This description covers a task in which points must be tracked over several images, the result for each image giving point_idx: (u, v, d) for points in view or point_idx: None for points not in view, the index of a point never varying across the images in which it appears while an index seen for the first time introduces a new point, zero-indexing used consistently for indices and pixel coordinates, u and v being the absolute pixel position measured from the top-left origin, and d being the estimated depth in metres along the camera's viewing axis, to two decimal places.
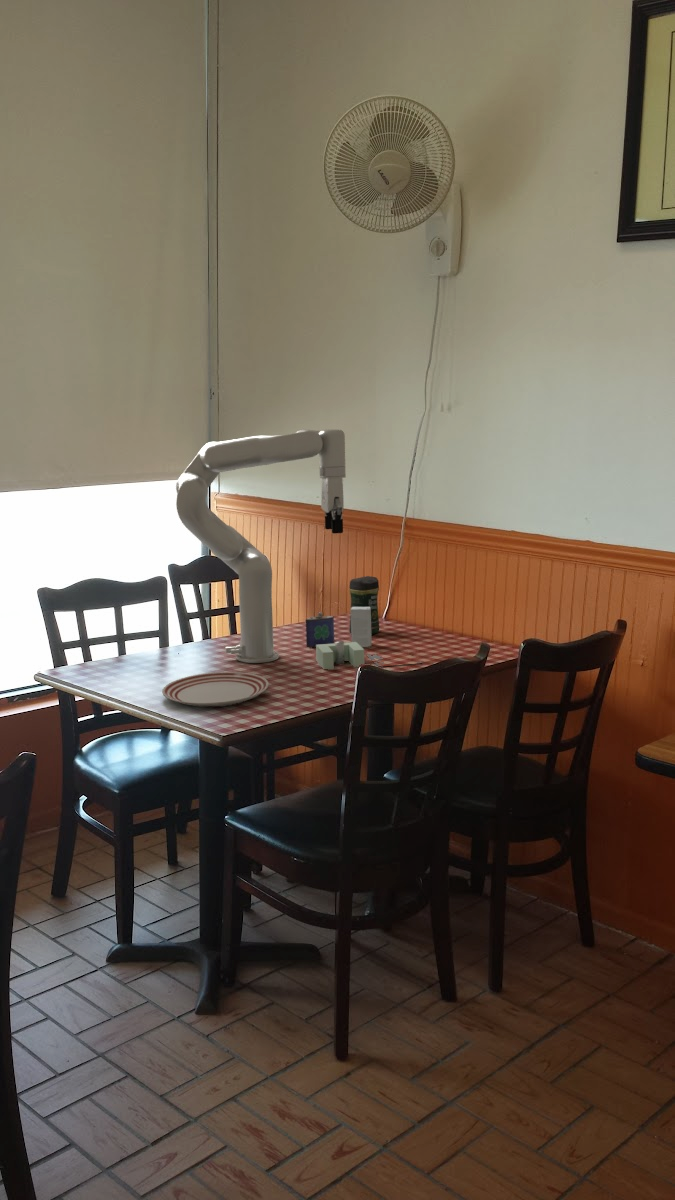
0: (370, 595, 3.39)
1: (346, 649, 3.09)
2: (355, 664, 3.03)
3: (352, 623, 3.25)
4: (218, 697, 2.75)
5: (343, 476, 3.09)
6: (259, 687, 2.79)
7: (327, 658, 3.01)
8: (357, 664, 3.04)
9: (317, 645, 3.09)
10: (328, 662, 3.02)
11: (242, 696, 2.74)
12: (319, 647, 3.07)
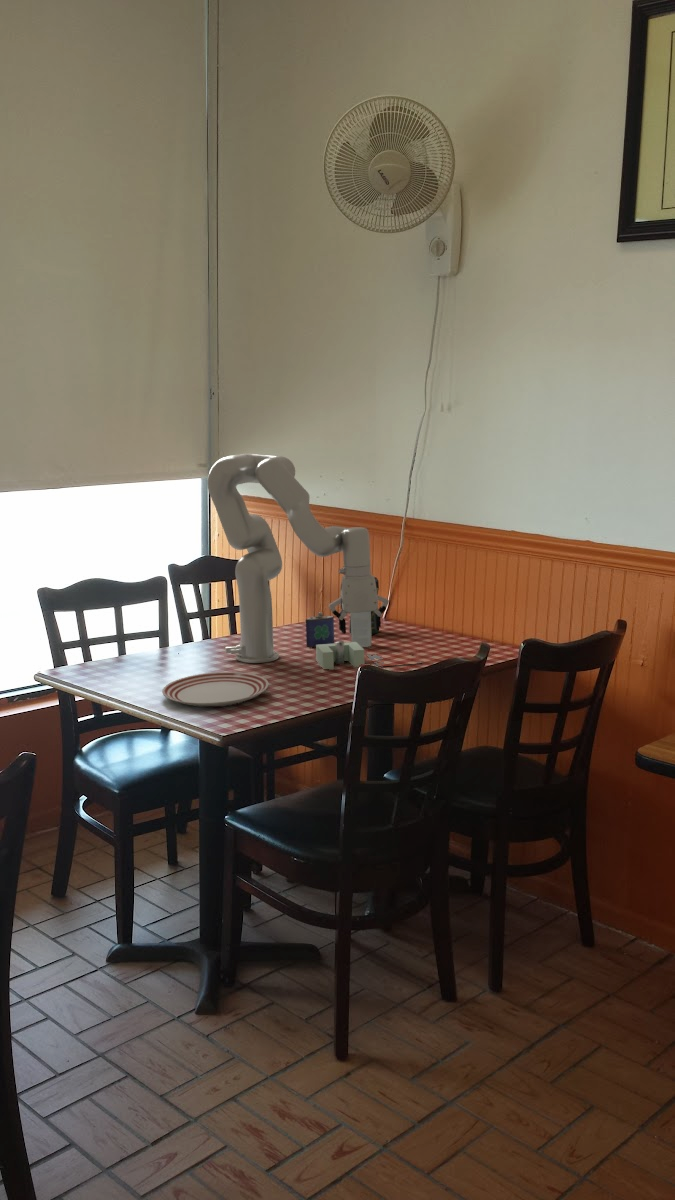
0: None
1: (346, 649, 3.09)
2: (355, 664, 3.03)
3: (352, 623, 3.25)
4: (218, 697, 2.75)
5: None
6: (259, 687, 2.79)
7: (327, 658, 3.01)
8: (357, 664, 3.04)
9: (317, 645, 3.09)
10: (328, 662, 3.02)
11: (242, 696, 2.74)
12: (319, 647, 3.07)
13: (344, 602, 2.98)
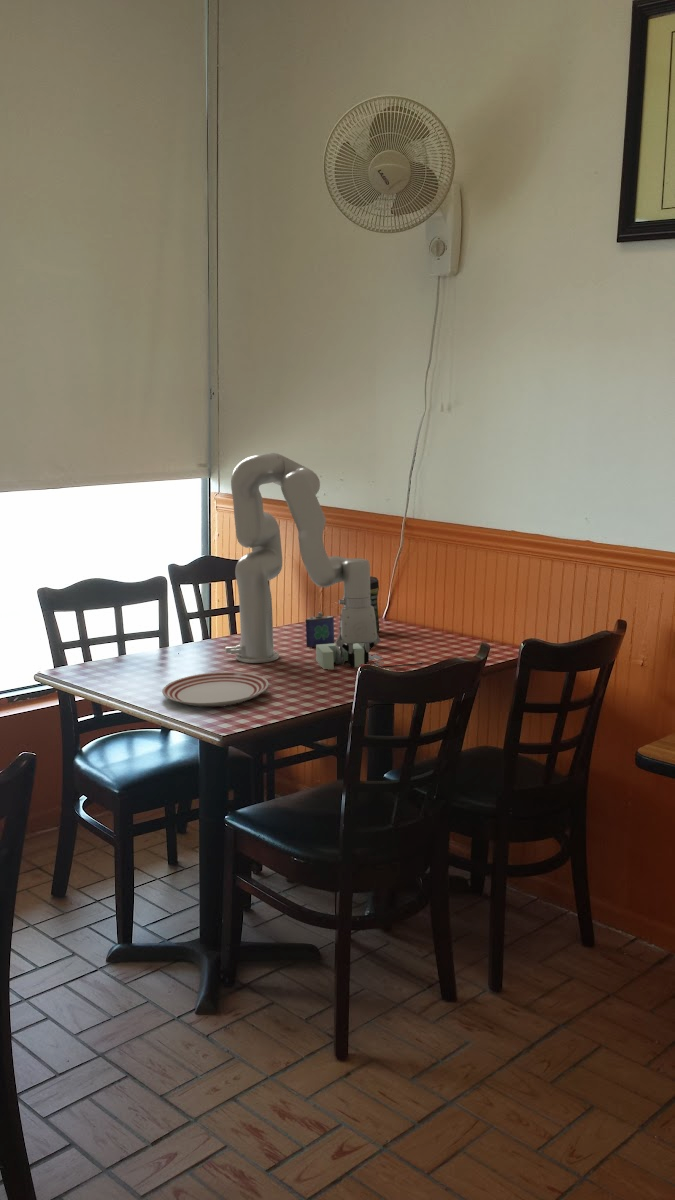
0: (370, 595, 3.39)
1: None
2: (355, 664, 3.03)
3: None
4: (218, 697, 2.75)
5: None
6: (259, 687, 2.79)
7: (327, 658, 3.01)
8: (357, 664, 3.04)
9: (317, 645, 3.09)
10: (328, 662, 3.02)
11: (242, 696, 2.74)
12: (319, 647, 3.07)
13: (343, 633, 3.00)
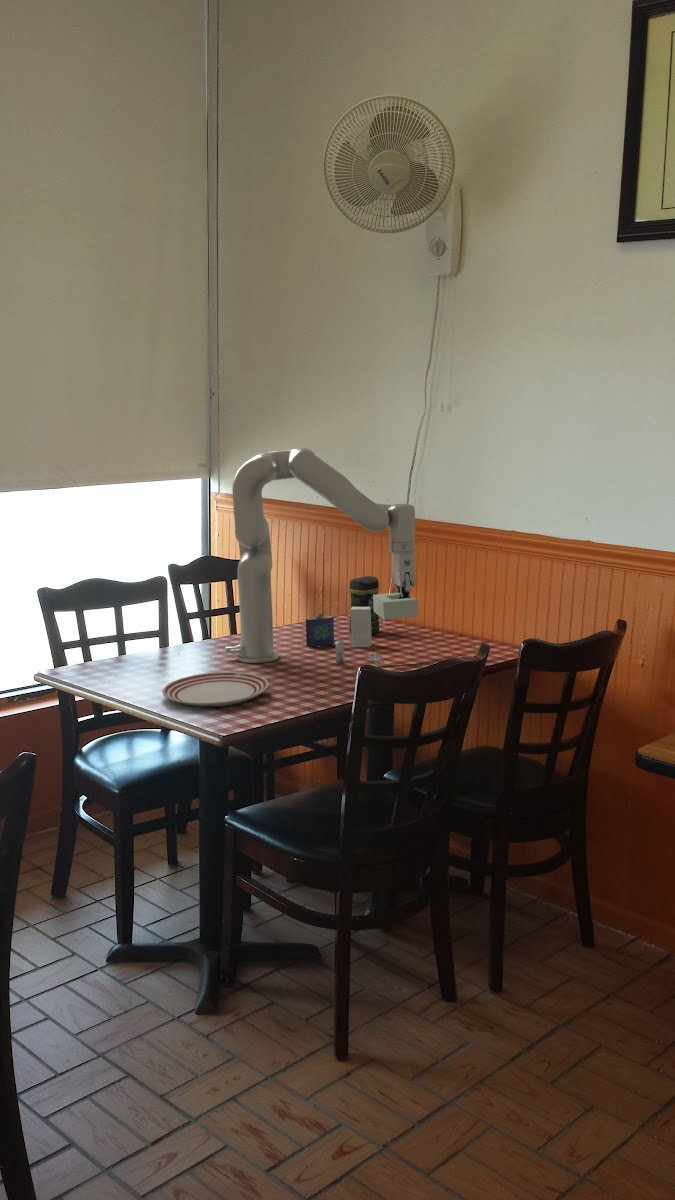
0: (370, 595, 3.39)
1: None
2: None
3: (352, 623, 3.25)
4: (218, 697, 2.75)
5: None
6: (259, 687, 2.79)
7: None
8: None
9: (387, 601, 3.01)
10: None
11: (242, 696, 2.74)
12: (395, 601, 3.02)
13: (415, 576, 3.07)
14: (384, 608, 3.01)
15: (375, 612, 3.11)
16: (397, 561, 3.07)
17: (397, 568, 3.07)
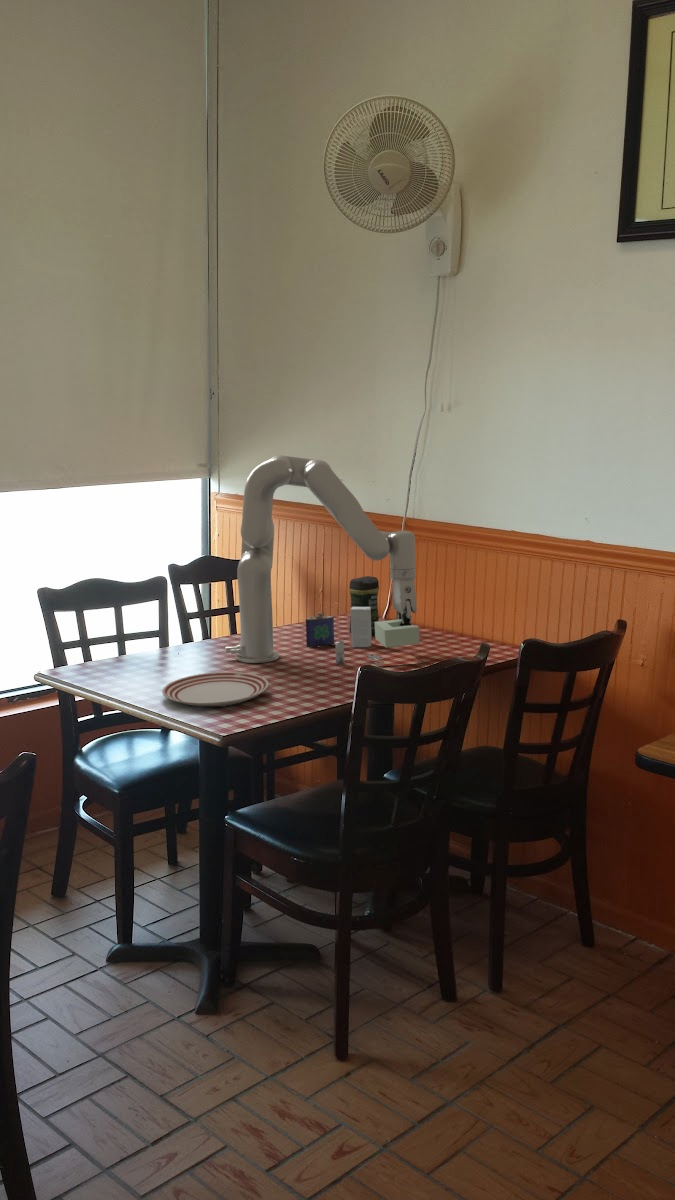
0: (370, 595, 3.39)
1: None
2: None
3: (352, 623, 3.25)
4: (218, 697, 2.75)
5: None
6: (259, 687, 2.79)
7: None
8: None
9: (388, 629, 3.03)
10: None
11: (242, 696, 2.74)
12: (397, 628, 3.03)
13: None
14: (386, 636, 3.03)
15: (377, 639, 3.13)
16: (398, 588, 3.09)
17: (398, 595, 3.09)
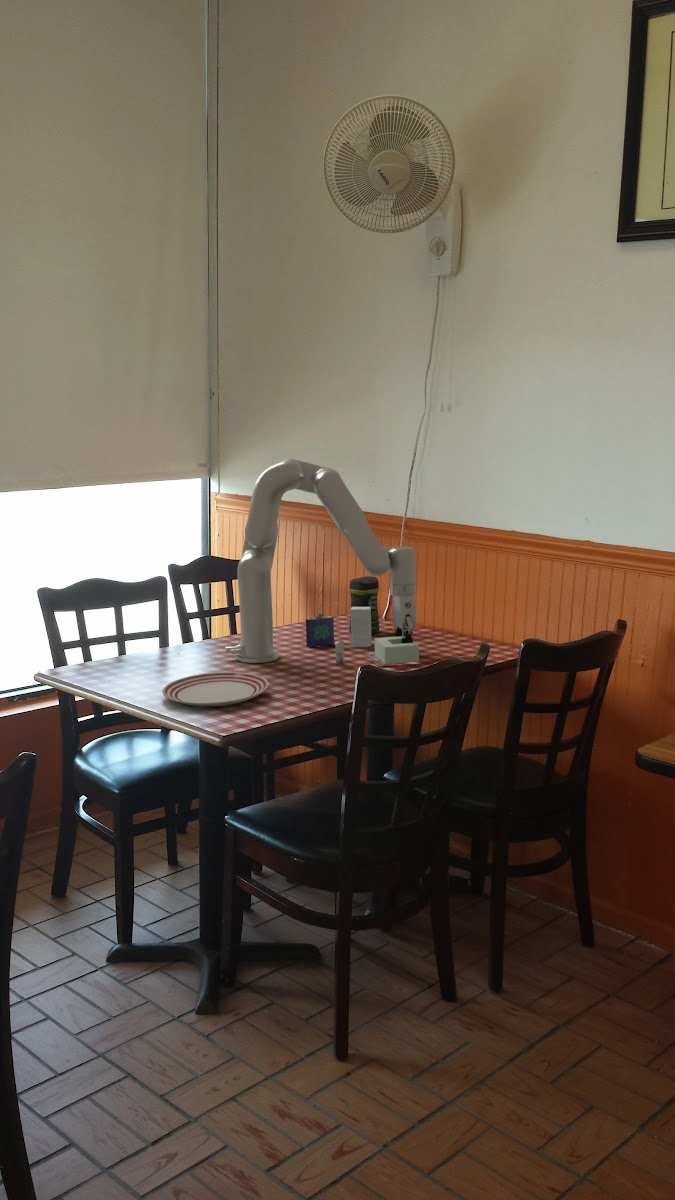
0: (370, 595, 3.39)
1: None
2: None
3: (352, 623, 3.25)
4: (218, 697, 2.75)
5: None
6: (259, 687, 2.79)
7: None
8: None
9: (388, 646, 3.04)
10: None
11: (242, 696, 2.74)
12: (397, 646, 3.04)
13: (415, 618, 3.10)
14: (385, 653, 3.04)
15: (376, 655, 3.14)
16: (398, 603, 3.10)
17: (398, 610, 3.10)
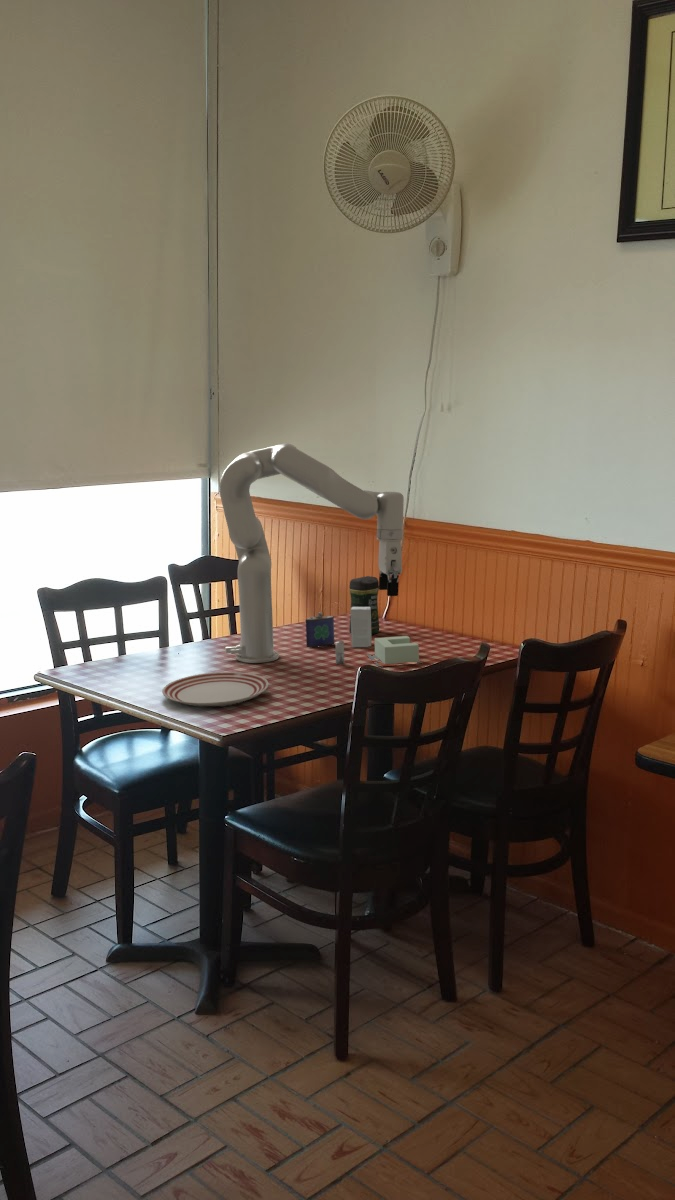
0: (370, 595, 3.39)
1: None
2: None
3: (352, 623, 3.25)
4: (218, 697, 2.75)
5: None
6: (259, 687, 2.79)
7: None
8: None
9: (388, 646, 3.04)
10: None
11: (242, 696, 2.74)
12: (397, 646, 3.04)
13: (401, 564, 3.08)
14: (385, 653, 3.04)
15: (376, 655, 3.14)
16: (384, 549, 3.08)
17: (384, 555, 3.08)
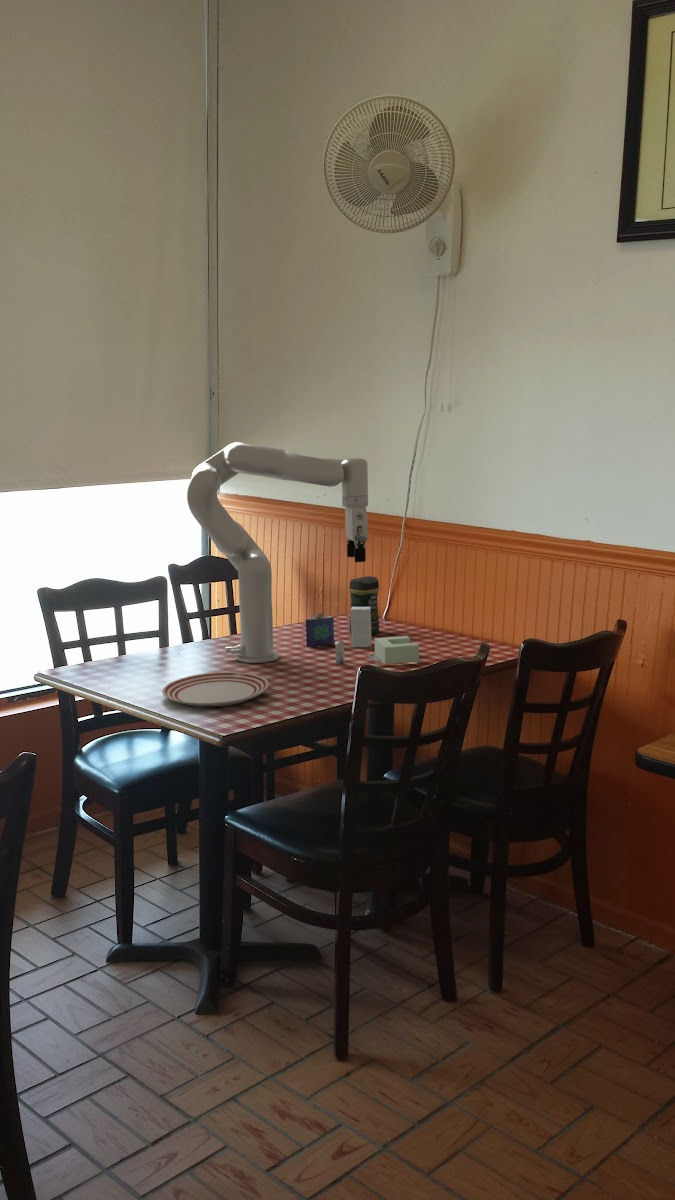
0: (370, 595, 3.39)
1: None
2: None
3: (352, 623, 3.25)
4: (218, 697, 2.75)
5: None
6: (259, 687, 2.79)
7: None
8: None
9: (388, 646, 3.04)
10: None
11: (242, 696, 2.74)
12: (397, 646, 3.04)
13: (367, 530, 3.09)
14: (385, 653, 3.04)
15: (376, 655, 3.14)
16: (350, 515, 3.09)
17: (350, 521, 3.09)
